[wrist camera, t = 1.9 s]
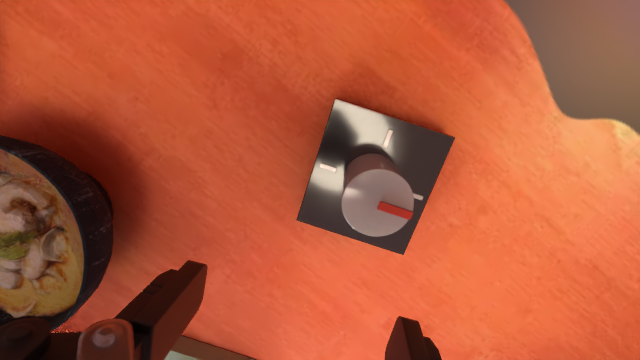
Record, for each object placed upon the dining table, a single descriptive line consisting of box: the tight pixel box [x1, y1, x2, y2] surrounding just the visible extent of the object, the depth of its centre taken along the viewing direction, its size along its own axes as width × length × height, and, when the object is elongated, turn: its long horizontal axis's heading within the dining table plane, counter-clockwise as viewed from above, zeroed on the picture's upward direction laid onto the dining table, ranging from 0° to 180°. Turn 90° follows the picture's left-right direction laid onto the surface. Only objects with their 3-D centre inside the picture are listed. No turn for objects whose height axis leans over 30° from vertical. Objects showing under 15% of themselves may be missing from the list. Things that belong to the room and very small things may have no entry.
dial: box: [342, 153, 414, 237], centre depth 23 cm, size 5×5×6 cm
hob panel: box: [297, 98, 455, 255], centre depth 28 cm, size 10×11×3 cm
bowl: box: [0, 135, 113, 331], centre depth 28 cm, size 17×17×10 cm
